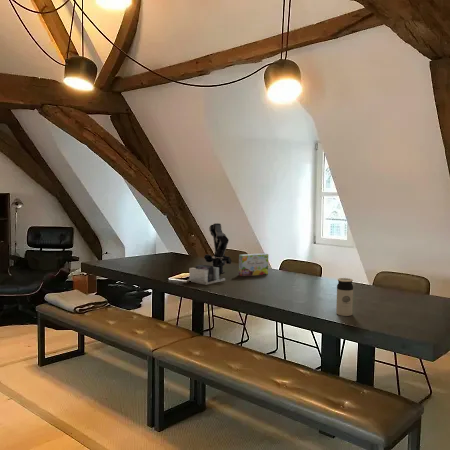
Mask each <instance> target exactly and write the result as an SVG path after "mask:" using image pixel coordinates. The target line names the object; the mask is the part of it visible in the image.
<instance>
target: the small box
mask: <svg viewBox="0 0 450 450" xmlns="http://www.w3.org/2000/svg"><path fill="white" fill-rule="evenodd" d="M195 268H198V269H204V270H208V282H209V281H213V265H208V264H207V265H206V264H198V265H196V266H195Z"/></svg>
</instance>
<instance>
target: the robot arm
mask: <svg viewBox="0 0 450 450" xmlns="http://www.w3.org/2000/svg"><path fill="white" fill-rule="evenodd" d="M208 229H209V230H208V231H209V232H210V236H212V238H213V246H214V254H213V255H211V254H204V256H203V257H204V260H205V261H206V262H207V263H212V266H213V267H218V268H219V275H221V274H225V271H224V266H225V265H226V264H227V265H231V264H232V259H231V257H230V256H229V255H225V253H226V250H227V247H228V244H229V240H230V239H229V238H228V237H227V235H226V233H224V232H223V229H222V224H221V223H218V222H217V223H215V222H214V223H213V224H211V225H209V228H208Z"/></svg>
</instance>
